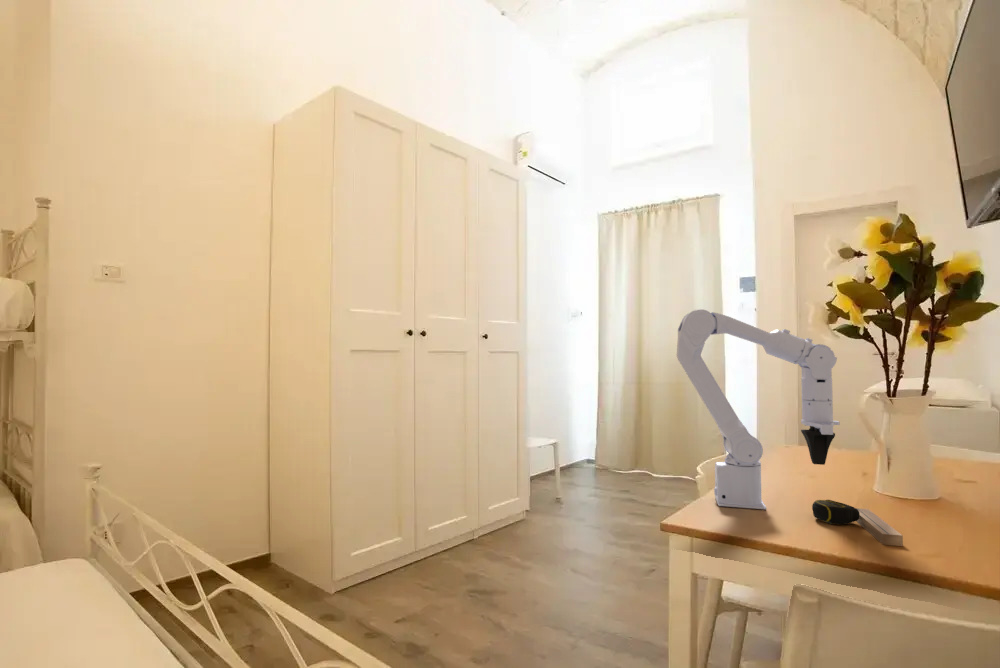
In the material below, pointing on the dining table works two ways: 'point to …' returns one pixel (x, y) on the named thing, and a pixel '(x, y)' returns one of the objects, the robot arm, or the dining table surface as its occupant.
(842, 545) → the dining table surface
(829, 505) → the tape measure
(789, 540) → the dining table surface
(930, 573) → the dining table surface
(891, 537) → the board
